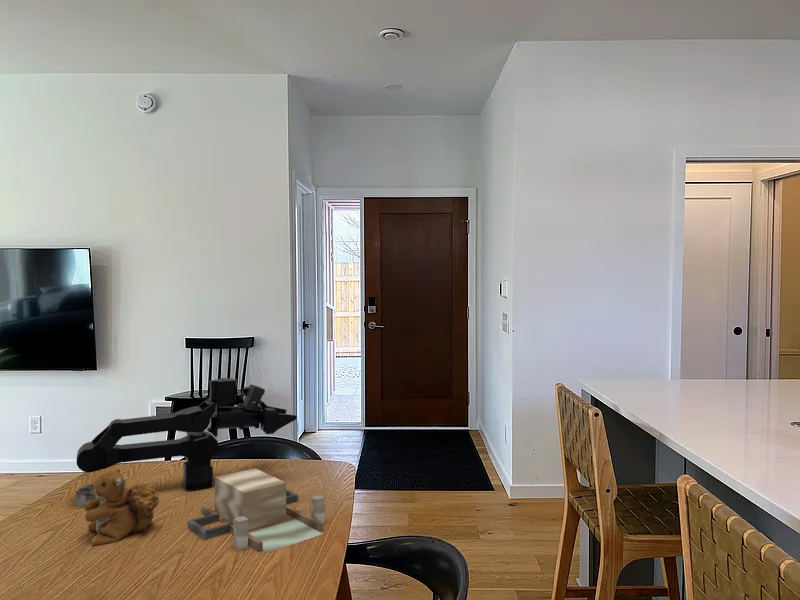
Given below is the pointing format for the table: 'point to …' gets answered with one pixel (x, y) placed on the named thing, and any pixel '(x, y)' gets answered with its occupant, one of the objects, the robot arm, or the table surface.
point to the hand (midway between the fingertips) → (291, 414)
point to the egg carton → (85, 495)
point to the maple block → (250, 497)
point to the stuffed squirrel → (118, 508)
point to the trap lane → (265, 527)
